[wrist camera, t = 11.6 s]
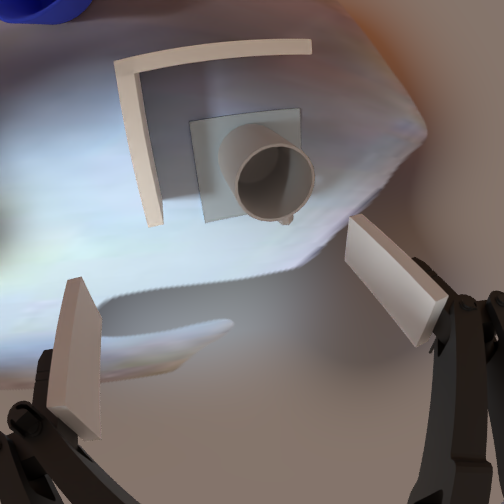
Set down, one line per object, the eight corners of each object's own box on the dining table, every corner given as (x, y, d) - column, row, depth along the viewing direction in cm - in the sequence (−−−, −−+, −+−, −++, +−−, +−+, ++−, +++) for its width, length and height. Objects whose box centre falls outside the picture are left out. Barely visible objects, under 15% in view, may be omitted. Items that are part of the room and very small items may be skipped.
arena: (149, 201, 34) (148, 227, 29) (122, 61, 25) (113, 61, 20) (292, 174, 37) (314, 195, 32) (286, 41, 28) (311, 39, 23)
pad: (204, 221, 37) (205, 222, 37) (189, 121, 30) (189, 122, 30) (300, 203, 40) (301, 204, 39) (298, 107, 33) (299, 108, 32)
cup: (267, 111, 32) (300, 129, 25) (296, 187, 38) (330, 222, 31) (205, 140, 32) (220, 167, 25) (242, 214, 38) (264, 256, 31)
